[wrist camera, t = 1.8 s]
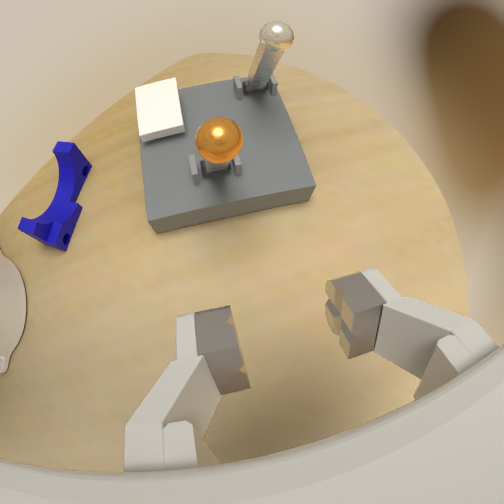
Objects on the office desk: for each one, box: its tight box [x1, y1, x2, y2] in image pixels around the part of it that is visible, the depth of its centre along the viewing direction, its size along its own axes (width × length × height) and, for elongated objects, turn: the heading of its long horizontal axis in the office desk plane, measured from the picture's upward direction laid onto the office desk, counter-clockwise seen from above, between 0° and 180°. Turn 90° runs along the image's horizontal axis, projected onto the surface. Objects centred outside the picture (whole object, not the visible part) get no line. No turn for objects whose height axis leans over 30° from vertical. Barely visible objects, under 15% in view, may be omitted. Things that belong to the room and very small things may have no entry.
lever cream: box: [242, 21, 294, 93], centre depth 27 cm, size 3×3×15 cm
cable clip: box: [18, 142, 92, 251], centre depth 31 cm, size 12×4×6 cm, turn 166°
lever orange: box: [195, 117, 243, 176], centre depth 24 cm, size 3×3×15 cm
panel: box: [140, 73, 316, 234], centre depth 33 cm, size 18×18×6 cm
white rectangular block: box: [135, 77, 185, 142], centre depth 31 cm, size 5×7×2 cm
